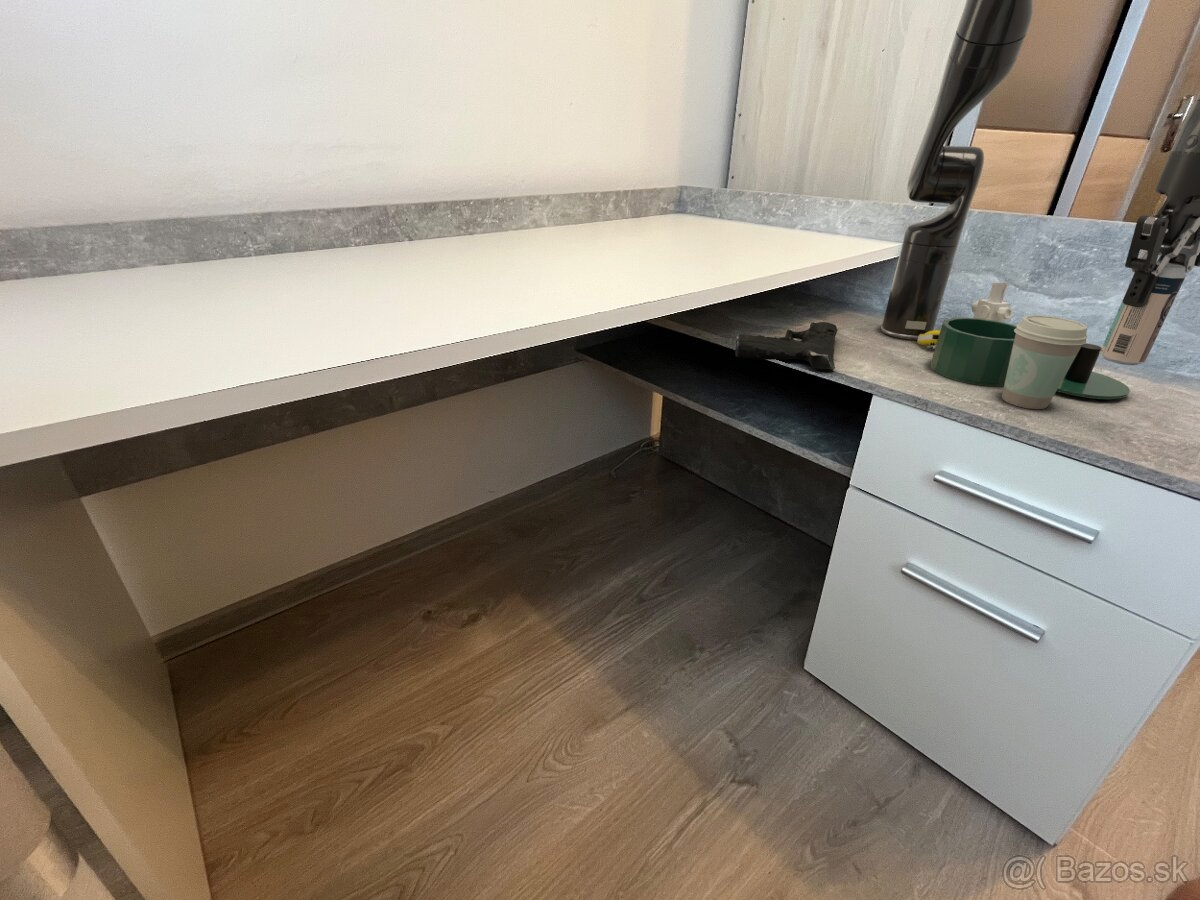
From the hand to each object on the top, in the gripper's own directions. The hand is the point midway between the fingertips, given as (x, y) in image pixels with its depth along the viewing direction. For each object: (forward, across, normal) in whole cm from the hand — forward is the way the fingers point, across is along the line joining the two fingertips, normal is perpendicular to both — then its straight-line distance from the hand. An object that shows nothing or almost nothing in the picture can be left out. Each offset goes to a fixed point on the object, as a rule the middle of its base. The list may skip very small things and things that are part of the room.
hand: (1146, 303), depth 74 cm
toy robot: (+17, +18, +31) cm, 40 cm away
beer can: (+8, 0, 0) cm, 8 cm away
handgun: (+16, -12, +35) cm, 41 cm away
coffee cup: (+17, 0, +9) cm, 19 cm away
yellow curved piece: (+17, +10, +31) cm, 37 cm away
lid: (+16, +14, +11) cm, 24 cm away
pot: (+17, +4, +21) cm, 27 cm away
